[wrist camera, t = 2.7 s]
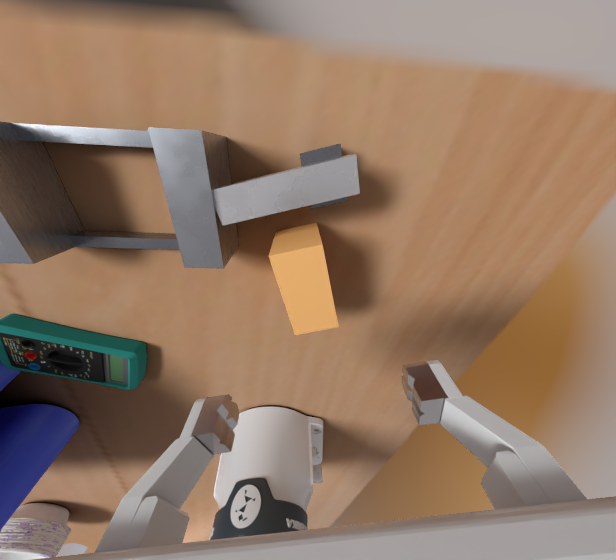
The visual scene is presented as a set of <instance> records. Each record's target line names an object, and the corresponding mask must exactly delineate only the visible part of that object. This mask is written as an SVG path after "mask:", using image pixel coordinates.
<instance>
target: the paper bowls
mask: <svg viewBox="0 0 616 560" xmlns="http://www.w3.org/2000/svg"><path fill="white" fill-rule="evenodd" d="M68 518H69V511H68V510H67V509H66V508H64V507H61V506H58V505H54V504H48V503H29V504H25V505H22V506H20V507H18V508H17V509H16V511H15V512H14V513H13V515H12V516H11V517H10V519H9V520H8V521H7V523H6V524H5V525H4V526H3V528H2V529H1V530H0V560H32V559H42V558H51V557H56V555H57V554H58V552H59V550H60V549H61V547H62V545H63V544H64V542H65V540H66V539H67V537H68V535H69V533H70V531H71V529H70V528H69V527H68V526H67V522H68Z"/></svg>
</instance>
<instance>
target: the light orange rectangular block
mask: <svg viewBox="0 0 616 560" xmlns="http://www.w3.org/2000/svg"><path fill="white" fill-rule="evenodd" d="M269 259H270V262H271V265H272V268H273V271H274V274H275V277H276V280H277V283H278V286H279V289H280V292H281V295H282V298H283V301H284V303H285V306H286V309H287V312H288V315H289V318H290V321H291V324H292V327H293V330H294V333H295V335H299V334H304V333H309V332H315V331H320V330H325V329H330V328H336V327H338V322H337V316H336V311H335V306H334V301H333V296H332V291H331V285H330V280H329V275H328V270H327V265H326V260H325V254H324V249H323V244H322V240H321V237H320V233H319V229H318V226H317V222H316V223H311V224H307V225H303V226H298V227H294V228H289V229H285V230H281V231H276V233H275V236H274V240H273V243H272V246H271V250H270V253H269Z"/></svg>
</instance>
